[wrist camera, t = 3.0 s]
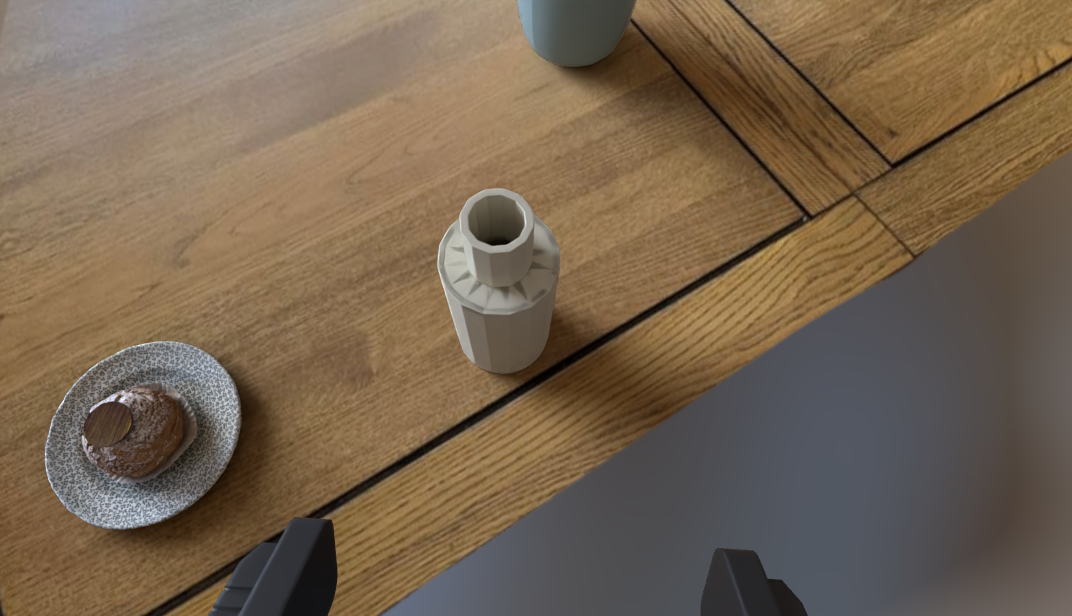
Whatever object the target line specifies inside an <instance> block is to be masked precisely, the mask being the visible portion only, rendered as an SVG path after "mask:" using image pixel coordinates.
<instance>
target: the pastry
mask: <svg viewBox="0 0 1072 616" xmlns="http://www.w3.org/2000/svg"><path fill="white" fill-rule="evenodd" d="M237 390H238V389H237V387H236V384H235V382H234V381H233V379H232V378H231V376H230V374H229V373H228V372H227V370H226V369H225V368H224V367H223V366H222V364H221V363H220V362H219V361H218V360H216V359H215V358H214V357H213V356H211V355H210V354H208V353H206V352H204V351H203V350H201V349H199V348H197V347H194V346H192V345H189V344H185V343H180V342H171V341H160V342H152V343H147V344H142V345H137V346H133V347H130V348H126V349H124V350H122V351H120V352H118V353H116V354H114V355H112V356H110V357H108V358H106V359H104V360H102V361H101V362H99V363H98V364H96V365H95V366H94V367H92V368H91V369H90V370H88V371H87V372H86V373H85V374H84V375H83V376H82V377H81V378H80V379H79V380H78V381H77V382H76V383H75V384H74V385H73V387H72V388H71V389H70V390H69V392H68V393H67V395H66V396H65V398H64V400H63V402H62V403H61V405H60V407H59V408H58V410H57V412H56V413H55V415H54V417H53V419H52V422H51V426H50V432H49V435H48V439H47V443H46V449H45V464H46V471H47V475H48V479H49V482H50V485H51V487H52V489H53V490H54V492H55V493H56V495H57V496H58V498H59V499H60V501H61V502H62V504H63V505H64V506H65V507H66V508H67V509H68V510H69V511H70V512H72V513H73V514H75V515H76V516H78V517H79V518H81V519H82V520H84V521H85V522H87V523H90V524H92V525H94V526H97V527H102V528H106V529H115V530H123V529H124V530H126V529H135V528H141V527H144V526H149V525H153V524H157V523H160V522H163V521H164V520H167V519H169V518H171V517H173V516H175V515H177V514H178V513H180V512H182V511H183V510H186V509H187V508H188V507H190V506H191V505H193V504H194V503H195V502H196V501H198V500H199V499H200V498H201V497H202V496H203V495H204V494H205V493H207V492H208V490H209V489H210V488H212V486H213V485H214V484H215V483H216V482H217V480H218V479H219V477H220V475H221V474H222V473H223V472H224V470H225V469H226V468H227V464H228V463H229V461H230V460H231V457H232V455H233V452H234V449H235V447H236V446H237V441H238V436H239V432H240V428H241V420H242V418H241V403H240V398H239V394H238V391H237Z"/></svg>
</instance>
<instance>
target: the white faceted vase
mask: <svg viewBox="0 0 1072 616" xmlns="http://www.w3.org/2000/svg"><path fill="white" fill-rule="evenodd" d="M438 271H439V274H440V277H441V281H442V284H443V287H444V291H445V294H446V297H447V301H448V304H449V307H450V311H451V314H452V318H453V321H454V324H455V328H456V331H457V334H458V337H459V340H460V343H461V346H462V349H463V351H464V352H465V354H466V355H467V357H468V358H469V359H470V360H471V361H472V362H473V363H474V364H476V365H477V366H478V367H480V368H482V369H484V370H486V371H489V372H493V373H500V374H507V373H514V372H517V371H520V370H522V369H525V368H526V367H528V366H530V365H531V364H532V363H533V362H535V361H536V359H537V358H538V357H539V356H540V355H541V353H542V351H543V350H544V348H545V345H546V342H547V340H548V337H549V331H550V325H551V319H552V313H553V307H554V301H555V295H556V289H557V283H558V277H559V271H560V249H559V246H558V244H557V242H556V240H555V237H554V235H553V233H552V231H551V229H550V228H549V227H548V226H547V225H546V224H545V223H544V222H542V221H541V220H540V219H539V218H538V217H537V216H536V215H534V214H533V210H532V208H531V207H530V206H529V204H528V203H527V202H526V201H525V200H524V198H523V197H522V196H521V195H519V194H517V193H514V192H512V191H509V190H507V189H503V188H498V189H485V190H483V191H481V192H479V193H478V194H476V195H474V196H473V197H471V198H469V200H468V201H467V202H466V204H465V206H464V208H463V209H462V211H461V213H460V219H458V220H457V221H456V222H454V223H453V224H452V225H451V226H450V227H449V229H448V231H447V233H446V234H445V236H444V238H443V240H442V241H441V243H440V246H439V255H438Z"/></svg>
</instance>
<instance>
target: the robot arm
mask: <svg viewBox="0 0 1072 616" xmlns="http://www.w3.org/2000/svg"><path fill="white" fill-rule="evenodd" d="M336 585H337V561H336V550H335V539H334V528H333V522H332V520H328V519H314V518H300V517H294V518H293V519H292V520H291V521H290V522H289V524H288V526H287V527H286V529H285V531H284V533H283V535H282V537H281V538H280V540H279V542H278V543H265V542H262V543H261V544H260V545H259V546H257V547H256V548H255V549H254V550H253V551H252V552H251V553H250V554H248V555H247V556H246V557H245V558H244V559H243V560H242V561H240V562H239V564H238V566H237V567H236V569H235V571H234V572H233V574H232V576H231V577H230V579H229V581H228V582H227V584H226V586H225V590H224V591H222V592H221V594H220V596H219V597H218V599H217V601H216V602H215V604H214V606H213V610H212V611H210V612H209V614H208V616H328V613H329V610H330V608H331V605H332V602H333V599H334V595H335V591H336ZM701 616H808V615H807V613H806V611H805V609H804V606H803V604H802V602H801V601H800V600H799V599H798V598H797V597H796V596H795V595H794V593H793V592H792V591H791V590H790V589H789V588H788V587H787V585H786V584H785V583H784V582H783V581H782V580H776V579H767V577H766V574H765V571H764V569H763V567H762V564H761V562H760V559H759V557H758V555H757V554H756V553H755V552H754V551H750V550H736V549H723V548H717V549H716V550H715V552H714V555H713V558H712V562H711V565H710V569H709V573H708V577H707V580H706V584H705V588H704V591H703V595H702V600H701Z"/></svg>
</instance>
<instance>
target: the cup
mask: <svg viewBox="0 0 1072 616" xmlns="http://www.w3.org/2000/svg"><path fill="white" fill-rule="evenodd" d="M635 4H636V0H517V5H518V12H519V18H520V22H521V26H522V29H523V32H524V34H525V37H526V39H527V41H528V43H529V44H530V46H531V47H532V49H533V50H534V51H535V52H536V53H537V54H538V55H539V56H540V57H542V58H543V59H545V60H547V61H548V62H551V63H553V64H556V65H560V66H566V67H581V66H587V65H591V64H594V63H596V62H599V61H601V60H602V59H604V58H606V57H607V56H608V55H609V54H610V53H611V52H612V51H613V50H614V49H615V48H616V46H617V45H618V44H619V42H620V40H621V38H622V37H623V35H624V33H625V31H626V29H627V27H628V24H629V22H630V19H631V16H632V13H633V10H634V7H635Z"/></svg>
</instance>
